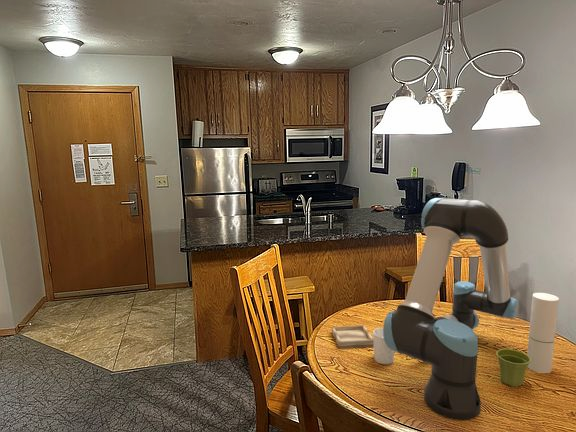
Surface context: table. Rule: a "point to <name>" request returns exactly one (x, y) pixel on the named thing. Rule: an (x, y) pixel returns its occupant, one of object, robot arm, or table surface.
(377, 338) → the white cup
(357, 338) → the birch tray
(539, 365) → the cylindrical container
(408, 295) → the robot arm
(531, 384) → the table surface
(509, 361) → the plant pot
